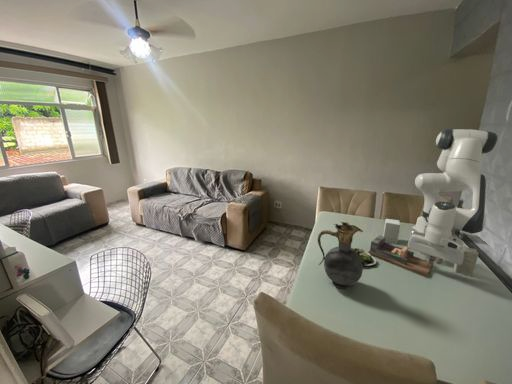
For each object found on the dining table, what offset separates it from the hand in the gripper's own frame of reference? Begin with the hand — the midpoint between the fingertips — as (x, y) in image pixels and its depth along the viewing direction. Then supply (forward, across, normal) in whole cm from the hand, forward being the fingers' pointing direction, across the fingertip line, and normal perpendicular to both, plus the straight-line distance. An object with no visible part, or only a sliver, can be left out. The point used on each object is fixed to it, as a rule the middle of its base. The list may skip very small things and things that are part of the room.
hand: (431, 263), depth 102 cm
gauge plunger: (+2, -13, -1) cm, 13 cm away
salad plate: (+5, -28, -16) cm, 32 cm away
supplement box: (+5, -24, +18) cm, 30 cm away
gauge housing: (+4, -13, 0) cm, 13 cm away
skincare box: (+4, +10, +10) cm, 15 cm away
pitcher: (+4, -24, -40) cm, 47 cm away
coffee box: (+4, -3, +14) cm, 15 cm away
